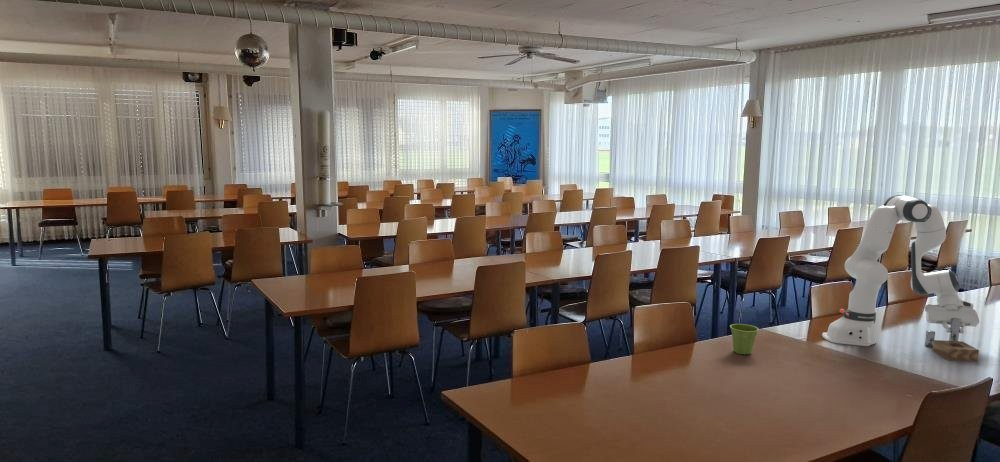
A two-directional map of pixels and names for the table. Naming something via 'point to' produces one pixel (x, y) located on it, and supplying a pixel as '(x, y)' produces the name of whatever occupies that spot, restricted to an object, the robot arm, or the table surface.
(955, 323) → the long pin
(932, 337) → the short pin
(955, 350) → the hole block
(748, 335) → the plant pot
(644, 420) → the table surface
